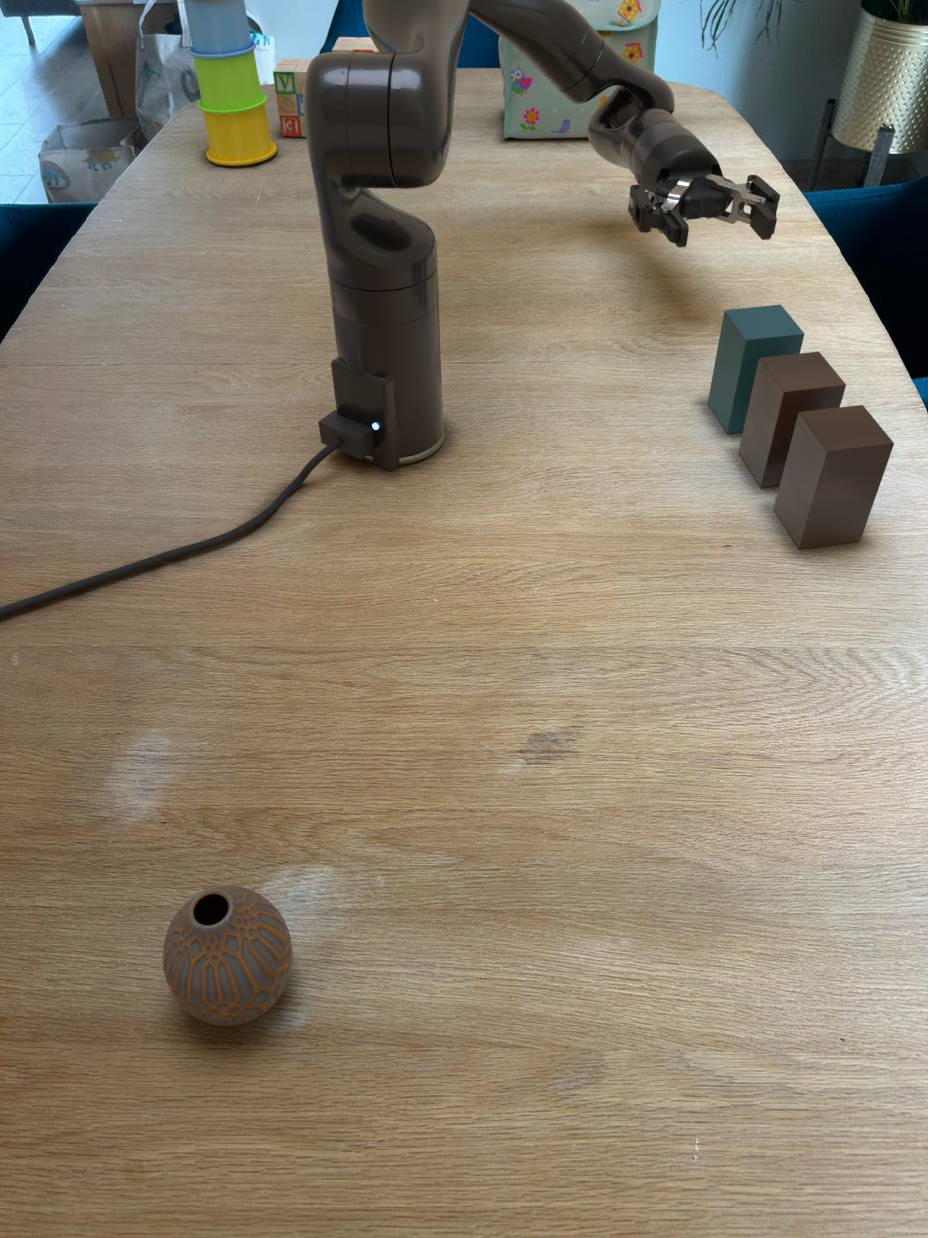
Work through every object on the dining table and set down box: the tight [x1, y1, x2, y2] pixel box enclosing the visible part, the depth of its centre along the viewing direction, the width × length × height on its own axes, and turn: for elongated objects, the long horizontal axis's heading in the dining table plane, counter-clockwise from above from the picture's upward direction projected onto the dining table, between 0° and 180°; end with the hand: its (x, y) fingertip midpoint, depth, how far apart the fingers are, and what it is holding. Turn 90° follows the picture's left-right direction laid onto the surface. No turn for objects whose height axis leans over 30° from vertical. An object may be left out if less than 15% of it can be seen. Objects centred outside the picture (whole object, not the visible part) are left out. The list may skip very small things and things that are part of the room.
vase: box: [162, 885, 294, 1027], centre depth 55 cm, size 7×7×9 cm
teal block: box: [707, 304, 805, 435], centre depth 94 cm, size 6×6×10 cm
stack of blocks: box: [272, 36, 380, 138], centre depth 149 cm, size 21×6×12 cm, turn 84°
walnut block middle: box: [738, 351, 847, 489], centre depth 88 cm, size 6×6×10 cm
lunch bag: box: [497, 0, 662, 140], centre depth 144 cm, size 23×16×27 cm
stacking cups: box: [183, 0, 278, 167], centre depth 135 cm, size 10×10×35 cm
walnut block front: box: [773, 404, 895, 550], centre depth 82 cm, size 6×6×10 cm
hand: (727, 233), depth 96 cm, fingers open, 8 cm apart
